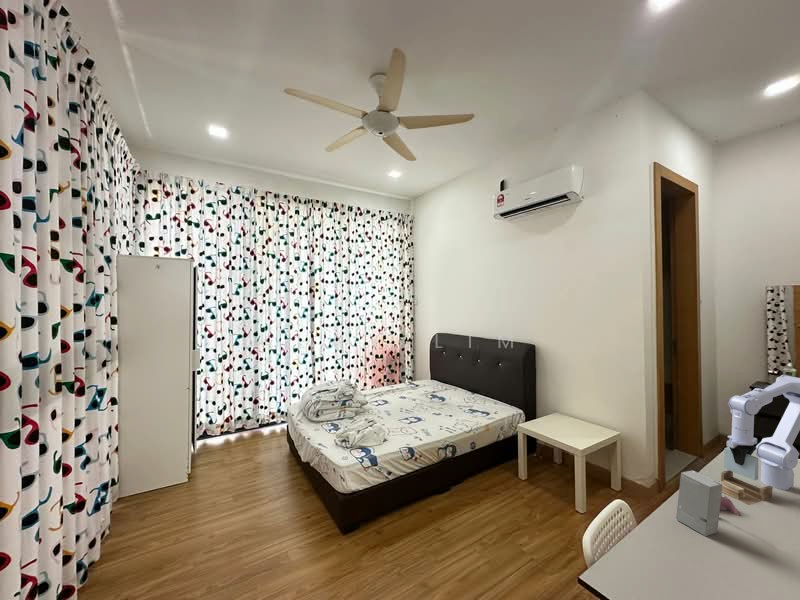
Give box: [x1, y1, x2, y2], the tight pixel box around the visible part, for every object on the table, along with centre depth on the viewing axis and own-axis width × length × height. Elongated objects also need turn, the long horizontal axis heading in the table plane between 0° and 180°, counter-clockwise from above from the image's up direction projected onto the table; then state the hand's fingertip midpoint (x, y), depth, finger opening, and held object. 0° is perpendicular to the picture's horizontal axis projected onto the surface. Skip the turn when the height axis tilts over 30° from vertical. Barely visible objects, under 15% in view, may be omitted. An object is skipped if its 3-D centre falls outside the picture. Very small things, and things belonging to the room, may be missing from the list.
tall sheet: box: [723, 447, 759, 481], centre depth 126 cm, size 2×9×8 cm, turn 18°
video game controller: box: [720, 494, 741, 517], centre depth 112 cm, size 10×5×7 cm, turn 85°
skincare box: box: [675, 470, 723, 537], centre depth 105 cm, size 8×7×16 cm
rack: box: [720, 470, 774, 505], centre depth 122 cm, size 14×12×5 cm
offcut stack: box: [719, 480, 745, 500], centre depth 121 cm, size 4×6×3 cm, turn 18°
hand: (741, 463), depth 126 cm, fingers closed on tall sheet, 2 cm apart
